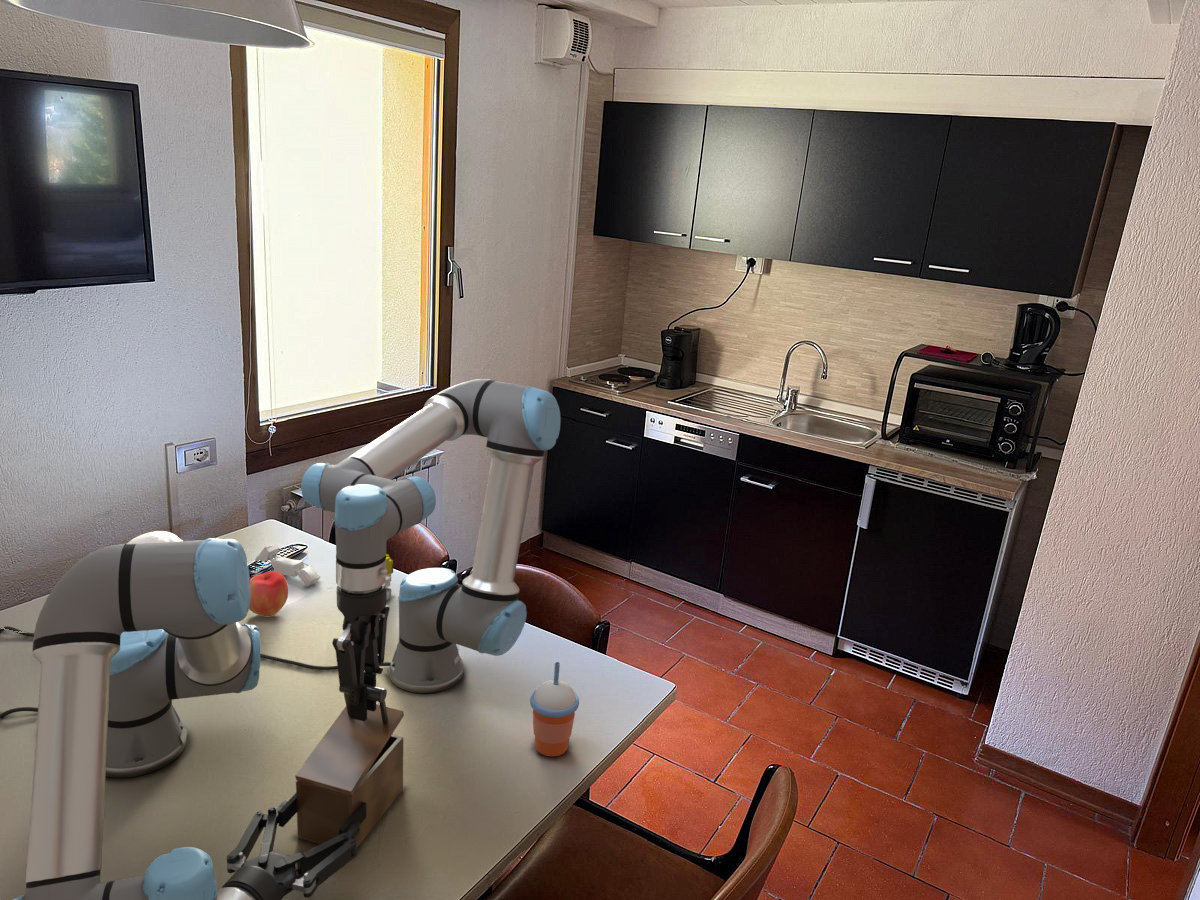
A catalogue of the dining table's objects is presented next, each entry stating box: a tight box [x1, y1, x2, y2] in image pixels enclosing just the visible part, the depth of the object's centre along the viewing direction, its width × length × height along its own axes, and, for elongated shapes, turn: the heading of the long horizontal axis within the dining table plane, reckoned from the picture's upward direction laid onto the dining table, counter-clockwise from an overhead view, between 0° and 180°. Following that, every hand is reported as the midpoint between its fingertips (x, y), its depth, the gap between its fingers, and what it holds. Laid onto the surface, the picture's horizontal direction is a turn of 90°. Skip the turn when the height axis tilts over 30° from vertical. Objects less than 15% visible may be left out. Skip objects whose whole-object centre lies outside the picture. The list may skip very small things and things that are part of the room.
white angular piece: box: [254, 544, 322, 587], centre depth 219 cm, size 20×4×7 cm, turn 62°
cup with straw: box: [529, 661, 580, 757], centre depth 159 cm, size 9×9×18 cm
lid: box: [294, 684, 405, 796], centre depth 136 cm, size 17×10×8 cm, turn 164°
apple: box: [248, 570, 289, 618], centre depth 199 cm, size 10×10×10 cm
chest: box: [295, 733, 404, 850], centre depth 140 cm, size 16×10×11 cm, turn 164°
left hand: (334, 800), depth 135 cm, fingers closed on chest, 10 cm apart
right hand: (363, 713), depth 140 cm, fingers closed on lid, 2 cm apart
